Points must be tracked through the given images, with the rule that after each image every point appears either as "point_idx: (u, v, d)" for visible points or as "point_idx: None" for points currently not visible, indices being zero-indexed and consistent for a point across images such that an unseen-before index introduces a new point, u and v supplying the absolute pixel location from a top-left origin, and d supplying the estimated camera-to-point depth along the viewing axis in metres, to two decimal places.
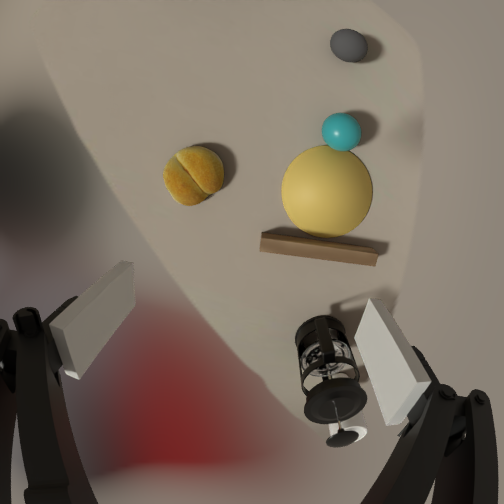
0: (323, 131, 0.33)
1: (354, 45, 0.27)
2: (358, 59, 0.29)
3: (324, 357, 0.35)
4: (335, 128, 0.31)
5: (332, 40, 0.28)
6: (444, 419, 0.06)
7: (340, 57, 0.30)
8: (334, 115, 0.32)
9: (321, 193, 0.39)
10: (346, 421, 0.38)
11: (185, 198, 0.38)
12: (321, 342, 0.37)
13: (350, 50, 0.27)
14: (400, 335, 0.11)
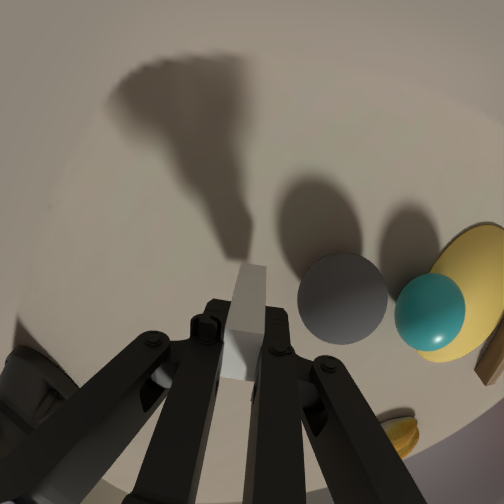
0: None
1: None
2: (310, 268, 0.16)
3: None
4: None
5: None
6: (285, 377, 0.08)
7: None
8: (424, 347, 0.14)
9: (470, 311, 0.18)
10: None
11: (411, 450, 0.23)
12: None
13: None
14: (260, 293, 0.13)
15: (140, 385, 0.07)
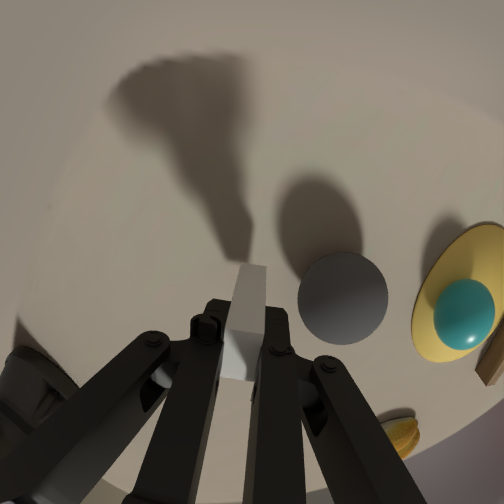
0: None
1: None
2: (310, 267, 0.16)
3: None
4: None
5: None
6: (285, 377, 0.08)
7: None
8: None
9: None
10: None
11: (411, 451, 0.22)
12: None
13: None
14: (260, 294, 0.13)
15: (140, 385, 0.07)
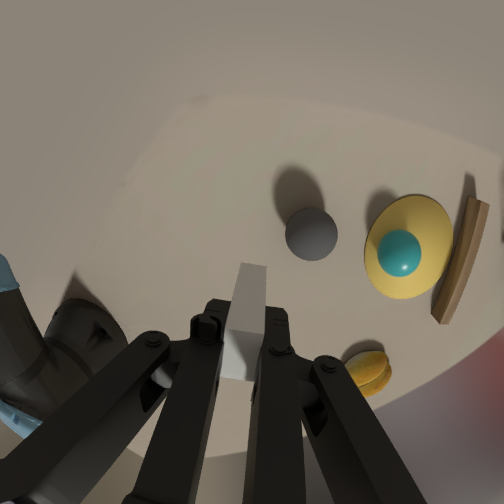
0: None
1: None
2: None
3: None
4: None
5: None
6: (285, 377, 0.08)
7: None
8: None
9: None
10: None
11: (386, 383, 0.35)
12: None
13: None
14: (260, 293, 0.13)
15: (140, 385, 0.07)
